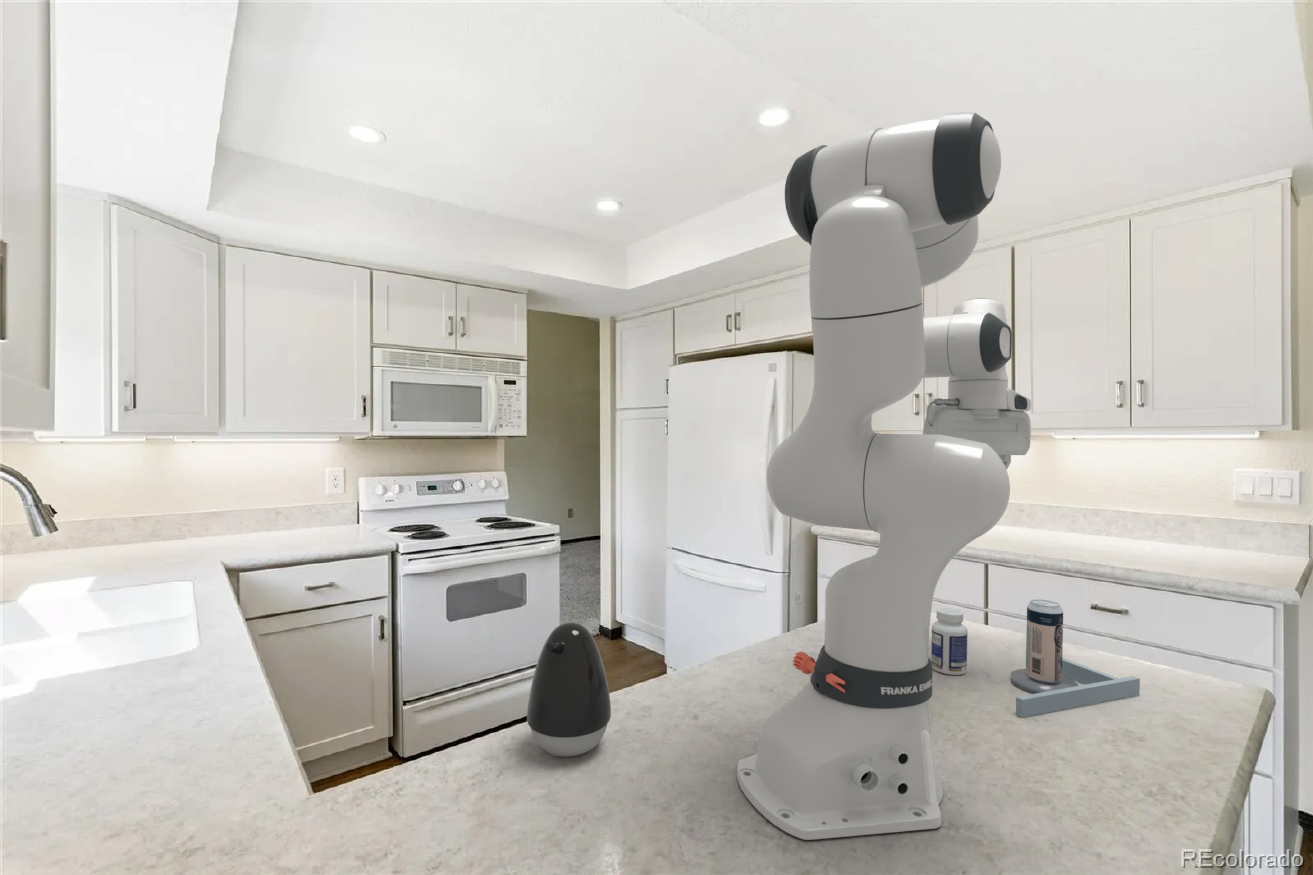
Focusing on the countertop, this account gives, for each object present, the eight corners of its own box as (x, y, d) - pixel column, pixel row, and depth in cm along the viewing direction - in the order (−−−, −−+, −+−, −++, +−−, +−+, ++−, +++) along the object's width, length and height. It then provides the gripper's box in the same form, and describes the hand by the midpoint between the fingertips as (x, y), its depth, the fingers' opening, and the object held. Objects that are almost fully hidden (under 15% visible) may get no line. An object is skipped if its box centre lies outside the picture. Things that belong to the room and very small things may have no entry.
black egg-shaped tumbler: (509, 759, 74) (510, 630, 73) (552, 721, 83) (554, 607, 83) (586, 776, 70) (588, 642, 70) (623, 735, 80) (624, 616, 80)
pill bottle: (968, 668, 104) (969, 610, 104) (964, 678, 100) (965, 618, 100) (933, 661, 107) (934, 605, 107) (928, 671, 103) (929, 612, 103)
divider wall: (1022, 717, 86) (1022, 699, 86) (943, 679, 99) (944, 663, 99) (1139, 695, 94) (1139, 678, 94) (1052, 662, 107) (1052, 648, 107)
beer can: (1067, 687, 94) (1068, 608, 94) (1032, 684, 95) (1034, 605, 95) (1054, 675, 99) (1055, 599, 99) (1021, 672, 100) (1022, 597, 100)
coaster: (1049, 702, 91) (1049, 695, 91) (997, 678, 100) (997, 672, 100) (1092, 694, 94) (1093, 687, 94) (1038, 672, 103) (1038, 666, 103)
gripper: (942, 396, 97) (941, 485, 97) (1038, 400, 104) (1037, 483, 104) (913, 398, 103) (912, 482, 103) (1006, 402, 110) (1004, 480, 110)
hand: (975, 482), depth 104 cm, fingers open, 8 cm apart
